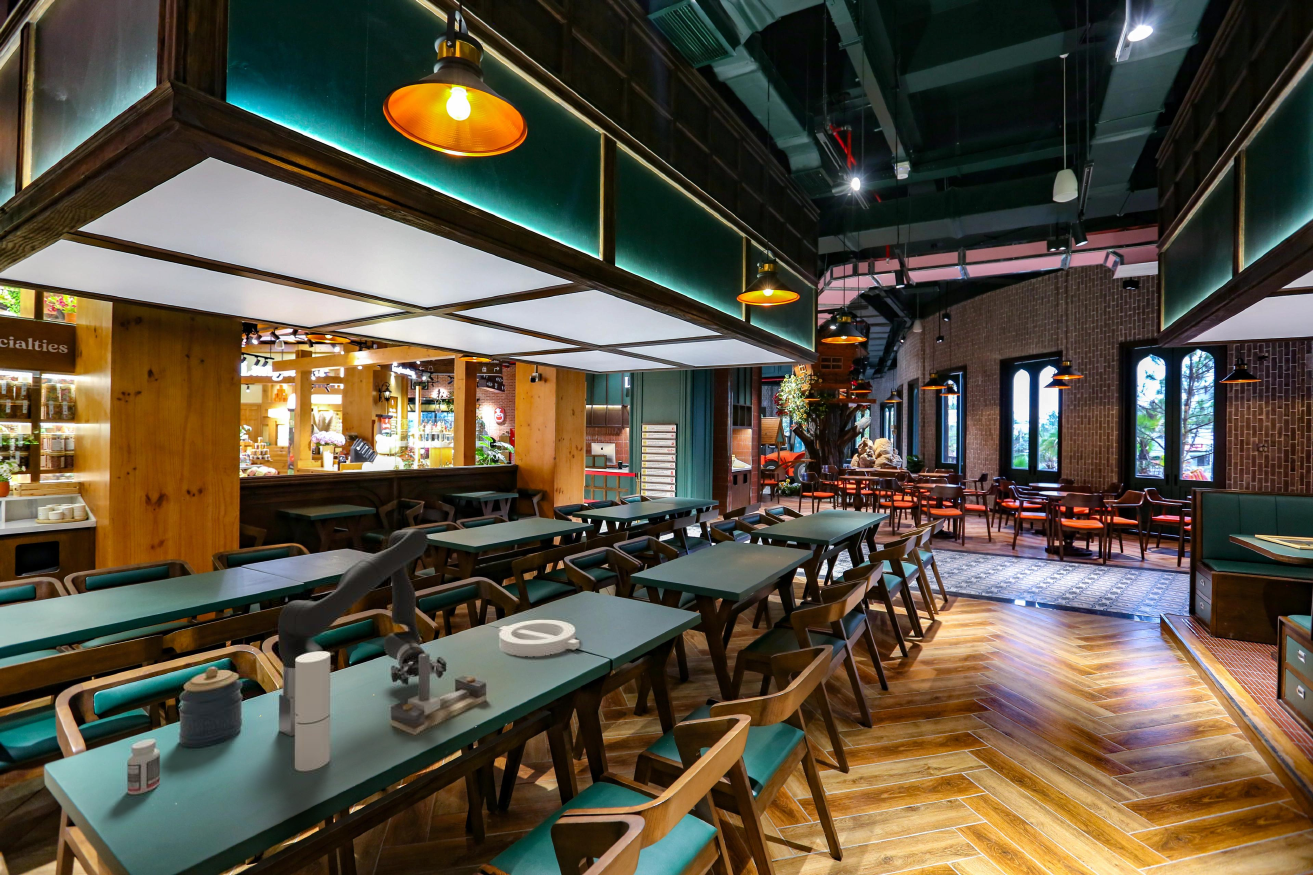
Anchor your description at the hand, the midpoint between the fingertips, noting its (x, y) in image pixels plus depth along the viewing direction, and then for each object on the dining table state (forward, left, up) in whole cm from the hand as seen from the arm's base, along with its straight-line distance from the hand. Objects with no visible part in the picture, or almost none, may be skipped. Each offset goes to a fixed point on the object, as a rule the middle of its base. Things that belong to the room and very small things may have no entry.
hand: (423, 677), depth 159 cm
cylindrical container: (-27, +4, -12) cm, 30 cm away
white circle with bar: (+62, +16, -12) cm, 65 cm away
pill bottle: (-52, +25, -12) cm, 59 cm away
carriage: (0, 0, -8) cm, 8 cm away
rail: (+6, 0, -11) cm, 13 cm away
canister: (-34, +39, -12) cm, 53 cm away
